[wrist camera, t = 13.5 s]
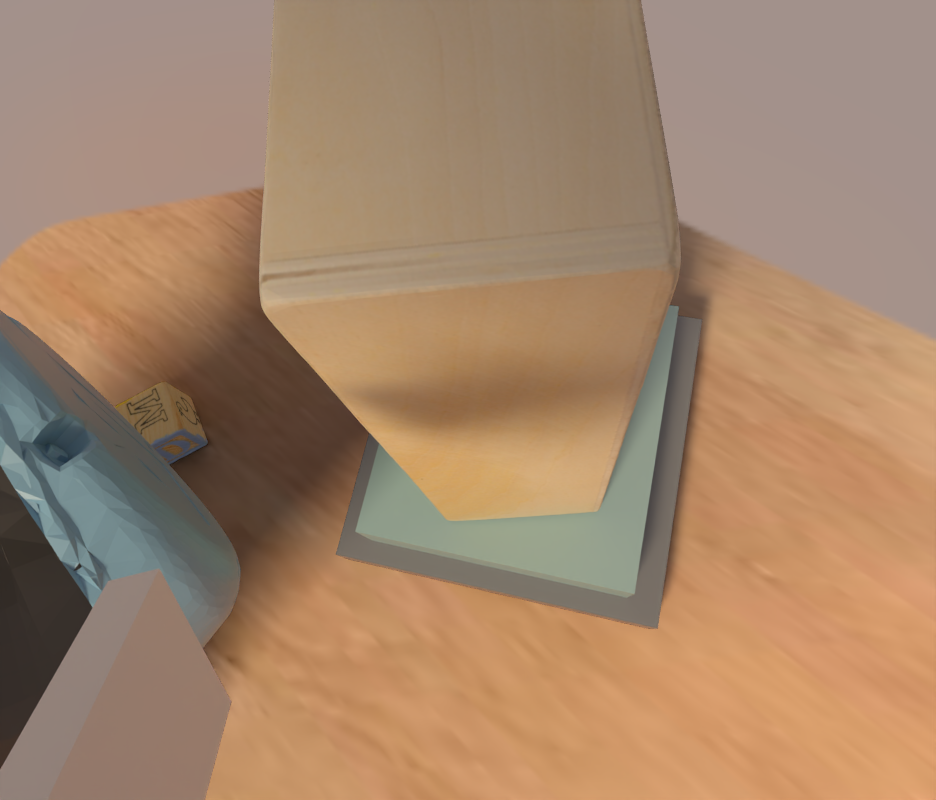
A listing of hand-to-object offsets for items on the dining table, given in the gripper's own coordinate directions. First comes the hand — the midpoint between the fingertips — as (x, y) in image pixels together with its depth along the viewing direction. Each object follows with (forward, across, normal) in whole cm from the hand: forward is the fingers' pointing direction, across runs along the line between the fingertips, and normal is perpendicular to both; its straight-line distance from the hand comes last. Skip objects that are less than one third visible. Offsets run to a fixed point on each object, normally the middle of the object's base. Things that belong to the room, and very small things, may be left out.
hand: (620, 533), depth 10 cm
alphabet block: (+28, -19, -8) cm, 34 cm away
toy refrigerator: (+20, -1, -9) cm, 21 cm away
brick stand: (+24, 0, -12) cm, 27 cm away
